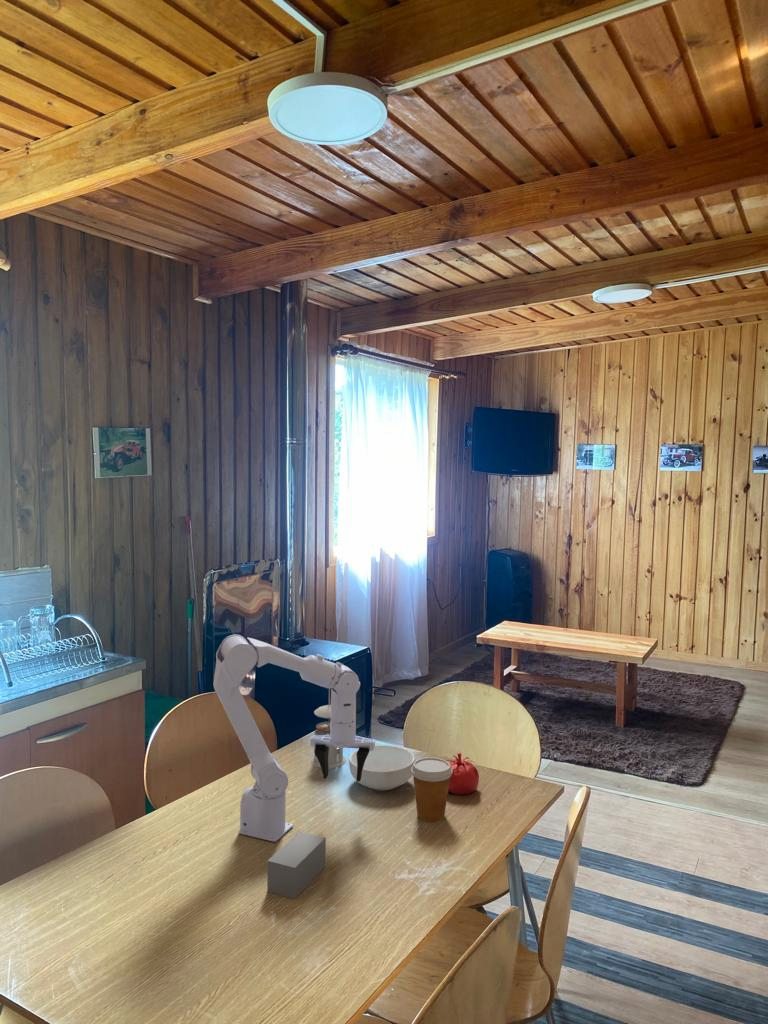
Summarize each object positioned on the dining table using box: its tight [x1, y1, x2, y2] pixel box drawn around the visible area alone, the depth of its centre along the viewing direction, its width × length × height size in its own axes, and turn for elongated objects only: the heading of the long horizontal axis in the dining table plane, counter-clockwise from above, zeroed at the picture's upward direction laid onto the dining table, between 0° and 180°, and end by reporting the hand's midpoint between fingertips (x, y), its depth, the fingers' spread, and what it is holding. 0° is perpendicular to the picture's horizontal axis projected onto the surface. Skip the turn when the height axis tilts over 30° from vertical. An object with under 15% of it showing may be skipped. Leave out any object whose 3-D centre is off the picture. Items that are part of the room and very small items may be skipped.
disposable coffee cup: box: [411, 756, 452, 822], centre depth 173 cm, size 10×10×12 cm
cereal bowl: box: [348, 744, 416, 791], centre depth 190 cm, size 17×17×7 cm
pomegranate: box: [445, 752, 480, 796], centre depth 187 cm, size 10×10×9 cm
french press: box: [310, 688, 347, 769], centre depth 203 cm, size 10×12×25 cm
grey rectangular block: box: [266, 831, 327, 900], centre depth 146 cm, size 6×12×6 cm, turn 157°
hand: (342, 778), depth 171 cm, fingers open, 7 cm apart
